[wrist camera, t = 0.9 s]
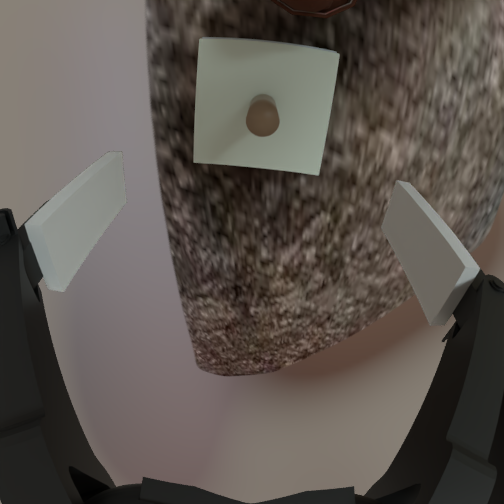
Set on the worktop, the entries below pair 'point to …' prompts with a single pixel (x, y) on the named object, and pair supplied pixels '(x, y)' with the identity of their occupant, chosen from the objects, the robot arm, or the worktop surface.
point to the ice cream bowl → (315, 7)
